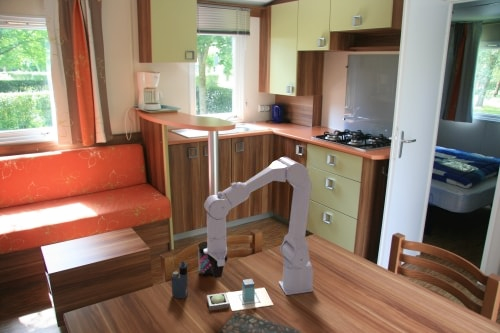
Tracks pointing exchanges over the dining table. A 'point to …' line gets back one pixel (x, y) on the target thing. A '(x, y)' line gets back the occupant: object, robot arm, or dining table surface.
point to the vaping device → (180, 282)
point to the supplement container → (204, 261)
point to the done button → (217, 299)
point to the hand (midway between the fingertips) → (217, 276)
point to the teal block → (248, 290)
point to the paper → (260, 301)
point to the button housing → (220, 305)
